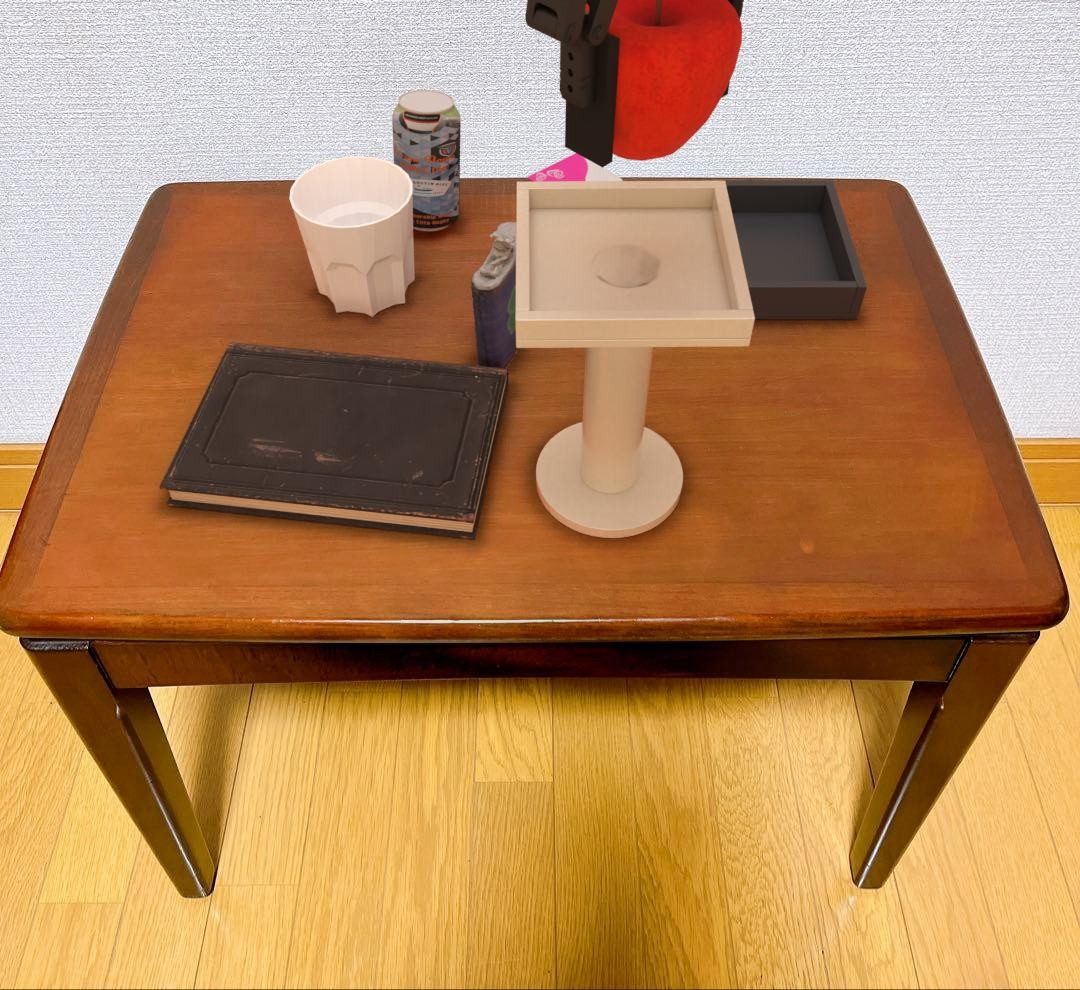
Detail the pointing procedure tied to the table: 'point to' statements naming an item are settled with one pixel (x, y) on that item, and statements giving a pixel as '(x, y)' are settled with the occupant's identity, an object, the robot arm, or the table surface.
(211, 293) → the table surface
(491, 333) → the flask
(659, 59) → the apple
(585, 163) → the supplement box
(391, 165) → the cup
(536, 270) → the pedestal tray stand
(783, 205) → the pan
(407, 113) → the beverage can
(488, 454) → the hardcover book
